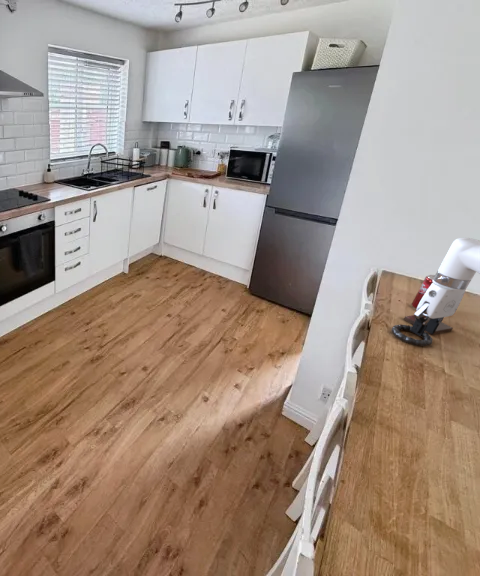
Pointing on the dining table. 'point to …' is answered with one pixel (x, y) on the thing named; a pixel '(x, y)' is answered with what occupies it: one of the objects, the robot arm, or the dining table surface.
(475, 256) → the robot arm
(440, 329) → the post
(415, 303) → the soda can
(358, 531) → the dining table surface
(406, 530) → the dining table surface
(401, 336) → the ring
